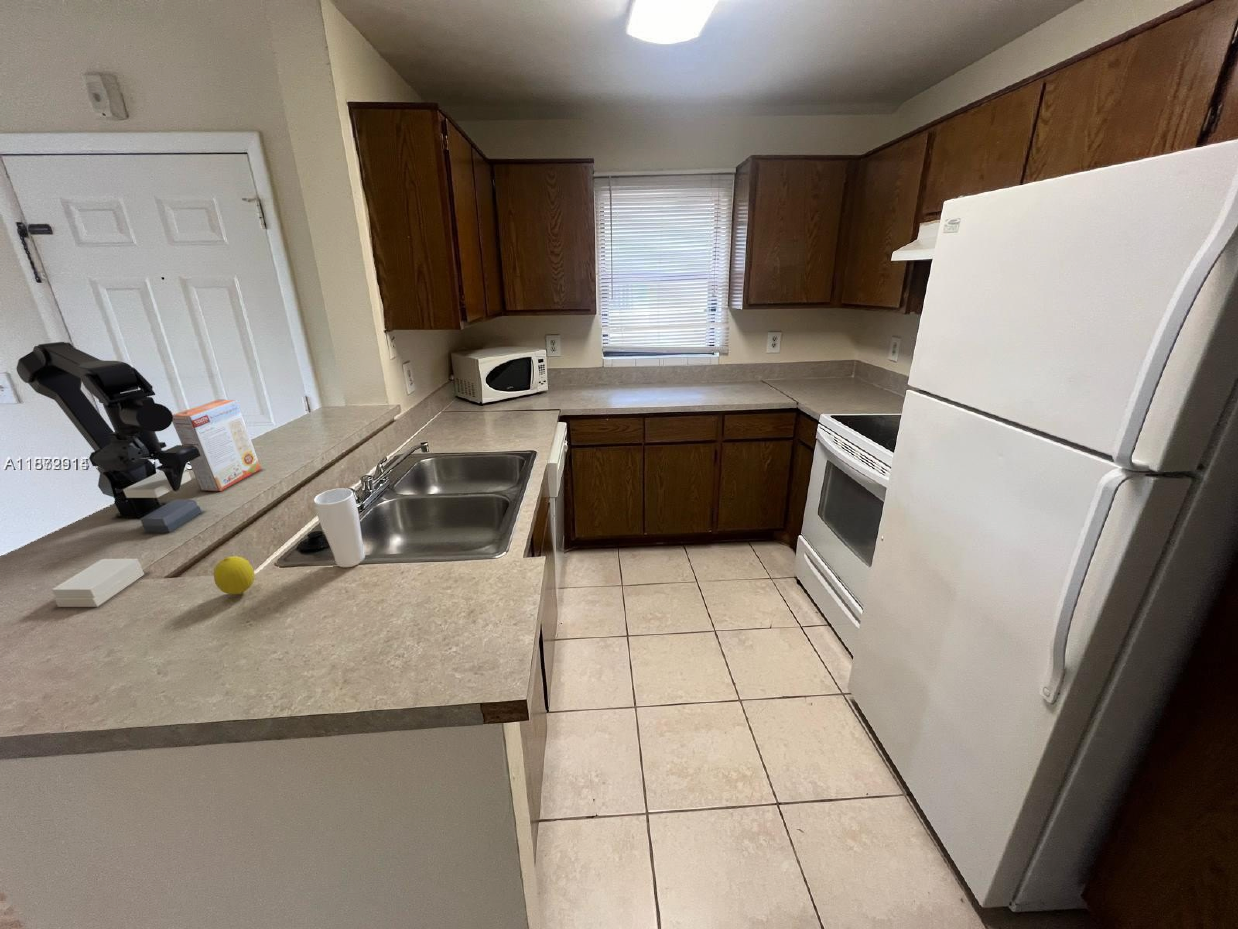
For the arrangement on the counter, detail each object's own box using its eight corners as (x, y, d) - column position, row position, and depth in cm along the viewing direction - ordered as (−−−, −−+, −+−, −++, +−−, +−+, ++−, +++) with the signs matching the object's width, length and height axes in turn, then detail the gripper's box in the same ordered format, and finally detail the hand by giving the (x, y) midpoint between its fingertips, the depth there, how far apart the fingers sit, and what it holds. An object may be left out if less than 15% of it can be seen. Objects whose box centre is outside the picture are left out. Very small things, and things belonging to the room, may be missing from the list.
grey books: (180, 512, 113) (174, 499, 112) (202, 512, 113) (196, 499, 112) (145, 532, 105) (139, 518, 103) (169, 532, 105) (163, 518, 103)
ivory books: (109, 574, 91) (101, 558, 90) (145, 574, 91) (137, 558, 90) (58, 607, 83) (48, 590, 81) (97, 607, 83) (88, 590, 82)
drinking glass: (344, 575, 92) (325, 508, 86) (325, 564, 95) (305, 498, 89) (376, 557, 97) (360, 493, 91) (357, 547, 100) (341, 484, 94)
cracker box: (243, 468, 136) (218, 398, 127) (262, 469, 135) (239, 399, 126) (198, 491, 123) (167, 414, 114) (220, 492, 122) (190, 415, 114)
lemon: (219, 607, 83) (203, 570, 80) (226, 589, 88) (211, 553, 84) (257, 597, 86) (243, 561, 82) (262, 580, 90) (248, 545, 87)
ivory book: (163, 479, 109) (159, 471, 108) (191, 479, 109) (188, 471, 109) (126, 497, 101) (122, 489, 100) (157, 497, 101) (153, 489, 100)
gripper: (45, 438, 92) (82, 508, 98) (142, 438, 92) (172, 508, 98) (101, 419, 102) (131, 484, 108) (189, 419, 102) (214, 484, 108)
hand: (161, 490), depth 105 cm, fingers closed on ivory book, 6 cm apart
